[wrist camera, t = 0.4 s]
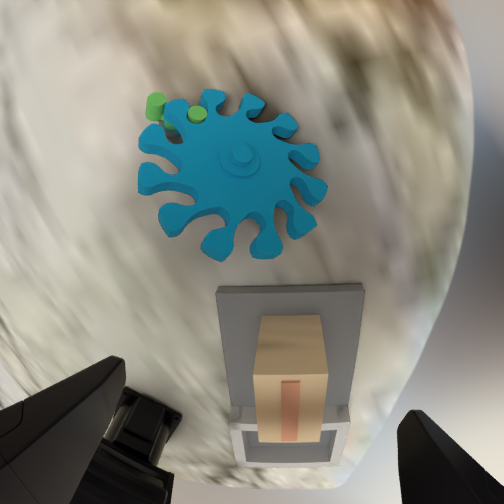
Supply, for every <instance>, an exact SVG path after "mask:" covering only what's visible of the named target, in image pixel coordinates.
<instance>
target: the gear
mask: <svg viewBox="0 0 504 504" xmlns="http://www.w3.org/2000/svg"><path fill="white" fill-rule="evenodd" d="M225 98H226V95H225V93H224V92H223V91H220V90H214V89H204V91H203V93H202V96H201V100H200V106H192V107H190V108H189V103H188V102H187V101H186V100H185V99H177V100H173V101H170V102H168V103H166V100H167V98H166V96H165V95H164V94H162V93H159V92H155V93H152V94H150V95H149V96H148V98H147V106H146V118H147V119H148V120H150V121H159V125H157V124H151V125H149V126H148V127H147V128H146V129H145V130H144V131H143V132H142V134H141V135H140V137H139V146H138V147H139V149H140V150H141V151H142V152H144V153H147V154H155V155H159V156H162V157H164V158H166V159H168V160H169V161H170V162H172V163H173V164H174V165H175V166H176V167H177V168H178V169H179V171H180V172H179V173H177V174H174V175H171V174H167V173H165V172H164V171H163V170H162V169H161V168H160V167H159V166H157V165H156V164H154V163H151V162H145V163H142V164H141V166H140V168H139V172H138V193H140V194H142V195H152V194H154V193H157V192H160V191H167V190H171V191H178V192H182V193H185V194H188V195H190V196H192V197H193V198H194V200H195V204H194V205H192V206H184V205H180V204H177V203H167V204H165V205H163V206H162V207H161V208H160V209H159V213H158V219H159V223H160V225H161V227H162V229H163V230H164V232H165V233H166V234H167V236H168V237H175V236H178V235H179V234H180V233H181V232H182V231H183V229H184V228H185V227H186V226H187V225H188V224H189V223H190V222H191V221H193V220H194V219H196V218H198V217H201V216H205V215H209V214H217V215H220V216H221V217H222V218H223V219H224V221H225V227H224V228H220V229H215V230H212V231H210V232H209V233H208V234H207V235H206V237H205V238H204V240H203V242H202V244H201V250H202V251H203V252H204V253H205V254H206V255H207V256H209V257H211V258H213V259H215V260H217V261H219V262H222V261H224V260H225V259H226V258H227V257H228V256H229V255H230V254H231V252H232V250H233V247H234V241H233V239H234V233H235V230H236V228H237V226H238V224H239V223H240V222H241V221H243V220H244V219H247V218H250V219H253V220H255V221H256V222H257V223H258V224H259V227H260V233H259V235H258V236H257V237H256V238H255V239H254V240H253V241H252V243H251V245H250V253H251V256H252V257H254V258H257V259H274V258H275V257H277V256H278V255H280V254H281V252H282V249H283V245H282V241H281V239H280V238H279V236H278V234H277V232H276V229H275V226H274V209H275V207H280V208H282V209H283V210H284V211H285V212H286V214H287V224H286V229H287V233H288V235H289V236H290V237H291V238H292V239H293V240H295V239H299V238H301V237H302V236H304V235H305V234H307V233H308V232H310V231H311V230H312V229H314V228H315V227H316V226H317V223H316V220H315V218H314V217H313V216H312V215H311V214H310V213H308V212H307V211H306V210H304V209H303V208H302V207H301V206H300V204H299V203H298V202H297V200H296V199H295V197H294V195H293V192H292V190H291V187H290V184H292V185H294V186H296V187H297V188H298V189H299V191H300V193H301V196H302V198H303V200H304V201H305V202H306V203H307V204H308V205H310V206H313V207H314V206H315V205H317V204H318V203H319V202H320V201H321V200H322V199H323V198H324V197H325V195H326V192H327V188H328V185H327V184H326V183H325V182H324V181H322V180H321V179H317V178H313V177H310V176H308V175H306V174H304V173H303V172H301V171H300V170H299V169H297V168H296V167H295V166H294V165H293V164H292V163H291V162H290V161H289V159H288V158H291V159H293V160H294V161H295V162H296V163H298V164H299V165H300V166H301V167H302V168H304V169H307V170H311V169H313V168H314V167H315V166H316V165H317V164H318V163H319V160H320V157H319V152H318V149H317V146H316V145H314V144H312V143H306V144H302V145H294V144H289V143H286V142H283V141H281V140H278V139H277V138H275V137H274V136H273V134H274V135H277V136H280V137H283V138H290V137H291V136H292V135H293V134H294V132H295V131H296V130H297V128H298V125H297V123H296V122H295V120H294V119H293V118H292V117H291V116H290V115H289V113H281V114H280V115H279V116H278V117H277V118H276V119H275V120H273V121H270V122H266V123H254V122H251V121H250V120H249V119H248V118H254V117H257V116H258V115H259V114H260V112H261V110H262V109H263V107H264V105H265V102H264V101H262V100H261V99H260V98H258V97H256V96H255V95H252V94H250V93H247V94H245V95H244V96H243V98H242V100H241V103H240V105H239V111H237V112H236V113H235V114H233V115H232V116H229V117H224V116H221V115H219V114H218V113H217V112H218V111H219V110H220V109H221V108H222V105H223V103H224V100H225Z"/></svg>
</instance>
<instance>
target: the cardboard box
mask: <svg viewBox="0 0 504 504" xmlns="http://www.w3.org/2000/svg"><path fill="white" fill-rule="evenodd" d="M327 381H328V367H327V360H326V353H325V346H324V339H323V332H322V325H321V319H320V315H283V316H261V322H260V329H259V336H258V343H257V350H256V357H255V364H254V370H253V382H254V393H255V405H256V416H257V427H258V438H259V442H271V443H297V442H319V441H320V434H321V428H322V421H323V413H324V406H325V398H326V390H327Z"/></svg>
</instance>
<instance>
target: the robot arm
mask: <svg viewBox="0 0 504 504" xmlns="http://www.w3.org/2000/svg"><path fill="white" fill-rule="evenodd" d="M125 382H126V371H125V361H124V359H122V358H119V357H116V356H109V357H107V358H105V359H103V360H101V361H99V362H97V363H95V364H94V365H92V366H90V367H88V368H86V369H84V370H82V371H80V372H78V373H76V374H74V375H72V376H70V377H68V378H66V379H64V380H62V381H60V382H58V383H56V384H54V385H52V386H50V387H48V388H46V389H44V390H42V391H40V392H38V393H36V394H34V395H32V396H30V397H28V398H26V399H24V401H23V400H22V401H20V402H18V403H16V404H14V405H11V406H9V407H7V408H5V409H2V410H0V504H170V503H171V496H172V488H173V481H174V474H173V473H171V472H167V471H165V470H163V469H161V468H158V467H157V465H158V462H159V459H160V457H161V454H162V451H163V448H164V446H165V444H166V443H167V442H168V440H169V439H170V437H171V435H172V434H173V432H174V431H175V429H176V428H177V426H178V424H179V423H180V421H181V419H182V415H181V414H179V413H177V412H175V411H173V410H171V409H169V408H166V407H164V406H162V405H160V404H158V403H156V402H154V401H152V400H150V399H148V398H146V397H144V396H142V395H140V394H138V393H136V392H134V391H132V390H130V389H128V388H125V387H124V386H125ZM115 409H116V410H115ZM114 411H115V413H114ZM113 414H114V416H113ZM112 417H113V421H112V423H111V425H110V427H109V429H108V431H107V432H106V430H107V428H108V426H109V424H110V422H111V419H112ZM105 432H106V434H105ZM104 434H105V436H104ZM103 436H104V437H103ZM397 443H398V470H399V479H400V487H401V497H402V504H504V486H503V485H501V484H500V483H499V482H498V481H497V480H496V479H495V478H493V477H492V476H491V475H490V474H489V473H488V472H487V471H485V469H484V468H483V467H482V466H481V465H480V464H478V463H477V462H476V461H475V460H474V459H473V458H472V457H471V456H470V455H469V454H468V453H467V452H466V451H465V450H463V449H462V448H461V447H460V446H459V445H458V444H457V443H456V442H455V441H454V440H453V439H452V438H451V437H450V436H448V434H446V433H445V432H444V431H443V430H442V429H441V428H440V427H439V426H438V425H437V424H436V423H435V422H434V421H433V420H431V418H429V417H428V416H427V415H426V414H425V413H424V412H423V411H422V410H410V411H409V412H408V413H407V414H406V416H405V417H404V419H403V420H402V421H401V423H400V424H399V426H398V429H397Z"/></svg>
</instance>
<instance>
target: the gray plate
mask: <svg viewBox="0 0 504 504" xmlns="http://www.w3.org/2000/svg"><path fill="white" fill-rule="evenodd" d="M364 293H365V290H364V288H363V286H362V284H344V285H310V286H257V287H218V289H217V291H216V301H217V309H218V316H219V324H220V331H221V338H222V345H223V352H224V359H225V366H226V372H227V379H228V385H229V392H230V398H231V404H232V407H231V412H230V417H229V422H228V424H229V429H230V434H231V440H232V445H233V450H234V454H235V459H236V464H237V466H242V467H264V468H307V467H329V466H339V464H340V460H341V457H342V453H343V449H344V446H345V442H346V438H347V434H348V430H349V426H350V416H349V409H348V401H349V396H350V391H351V385H352V380H353V374H354V368H355V362H356V355H357V349H358V342H359V335H360V327H361V320H362V311H363V302H364ZM283 315H320V319H321V325H322V332H323V339H324V346H325V353H326V360H327V367H328V381H327V390H326V398H325V406H324V413H323V421H322V428H321V434H320V441H319V442H297V443H271V442H259V438H258V427H257V416H256V405H255V393H254V382H253V370H254V364H255V357H256V350H257V343H258V336H259V329H260V322H261V316H283Z"/></svg>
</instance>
